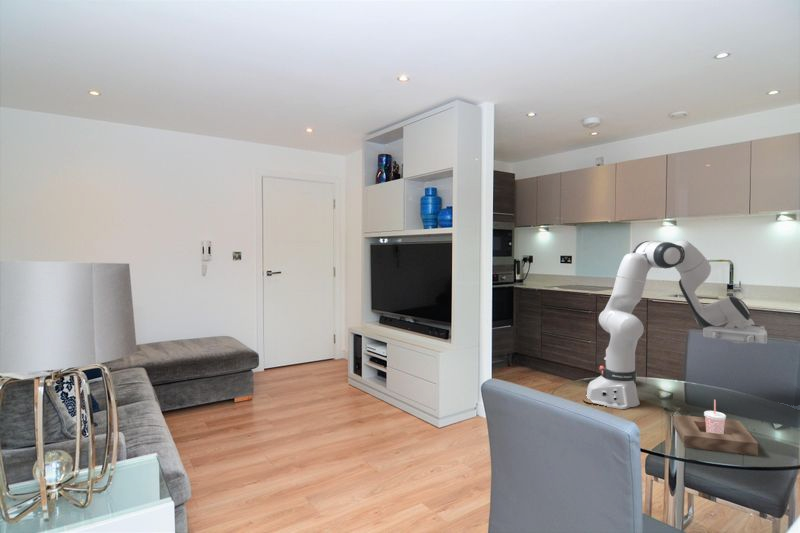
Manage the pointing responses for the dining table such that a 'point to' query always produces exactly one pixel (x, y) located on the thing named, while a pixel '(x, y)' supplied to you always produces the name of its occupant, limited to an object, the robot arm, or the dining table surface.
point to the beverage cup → (714, 421)
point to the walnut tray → (714, 436)
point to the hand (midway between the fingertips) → (730, 338)
